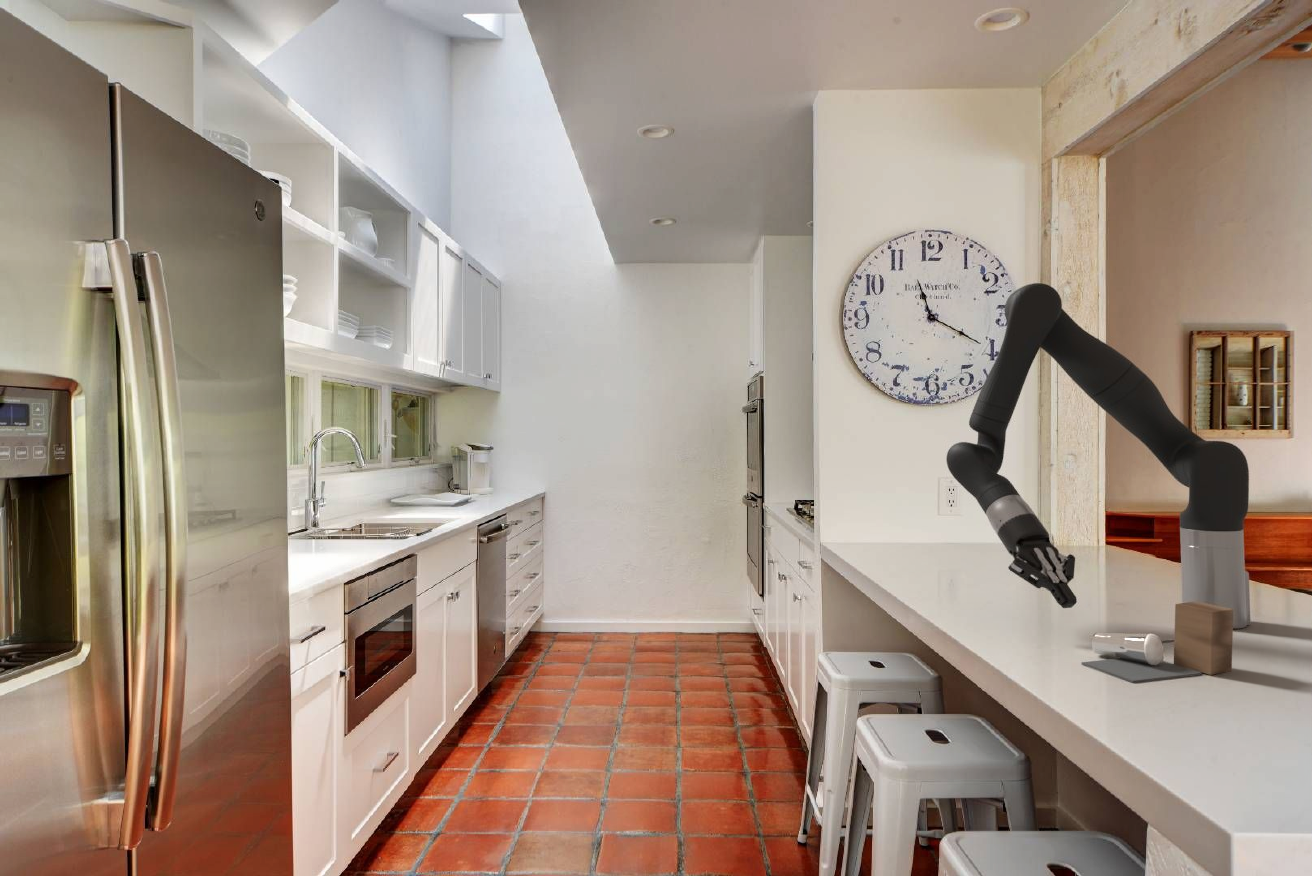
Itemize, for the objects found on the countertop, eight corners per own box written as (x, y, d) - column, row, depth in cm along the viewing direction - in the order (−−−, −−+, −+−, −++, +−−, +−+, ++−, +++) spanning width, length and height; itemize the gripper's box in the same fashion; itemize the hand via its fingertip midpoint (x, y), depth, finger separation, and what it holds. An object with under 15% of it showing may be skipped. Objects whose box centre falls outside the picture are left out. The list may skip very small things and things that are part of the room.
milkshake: (1108, 646, 117) (1179, 654, 108) (1094, 663, 114) (1166, 673, 105) (1100, 620, 116) (1171, 626, 108) (1085, 637, 113) (1157, 644, 105)
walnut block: (1194, 660, 110) (1196, 601, 110) (1231, 670, 105) (1233, 609, 105) (1173, 664, 108) (1175, 604, 108) (1210, 674, 103) (1212, 612, 103)
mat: (1146, 657, 113) (1146, 655, 113) (1201, 674, 104) (1201, 672, 104) (1081, 664, 110) (1081, 662, 110) (1132, 682, 101) (1132, 680, 101)
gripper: (995, 513, 130) (1049, 595, 118) (1057, 510, 133) (1115, 590, 121) (976, 539, 135) (1026, 620, 123) (1036, 536, 138) (1090, 614, 126)
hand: (1070, 605), depth 122 cm, fingers closed
